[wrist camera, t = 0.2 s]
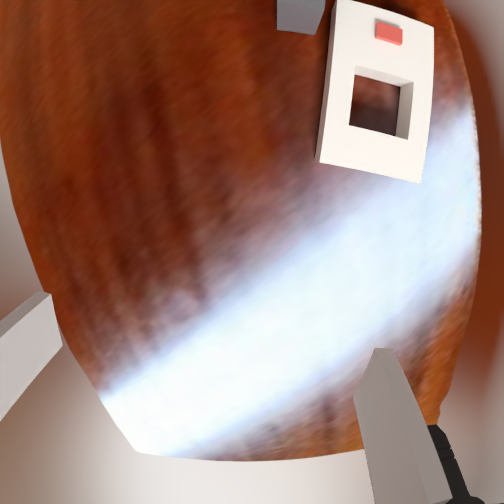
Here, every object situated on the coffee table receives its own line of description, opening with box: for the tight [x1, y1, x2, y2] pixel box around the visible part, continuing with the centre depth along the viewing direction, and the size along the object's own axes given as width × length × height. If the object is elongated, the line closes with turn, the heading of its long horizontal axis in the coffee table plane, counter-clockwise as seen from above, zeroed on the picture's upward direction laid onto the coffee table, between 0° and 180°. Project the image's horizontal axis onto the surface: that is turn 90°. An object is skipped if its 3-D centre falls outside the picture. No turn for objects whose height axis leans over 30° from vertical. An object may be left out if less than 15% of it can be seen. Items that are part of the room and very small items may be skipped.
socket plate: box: [315, 0, 434, 184], centre depth 28 cm, size 20×12×5 cm, turn 173°
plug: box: [277, 0, 325, 35], centre depth 24 cm, size 4×4×8 cm
